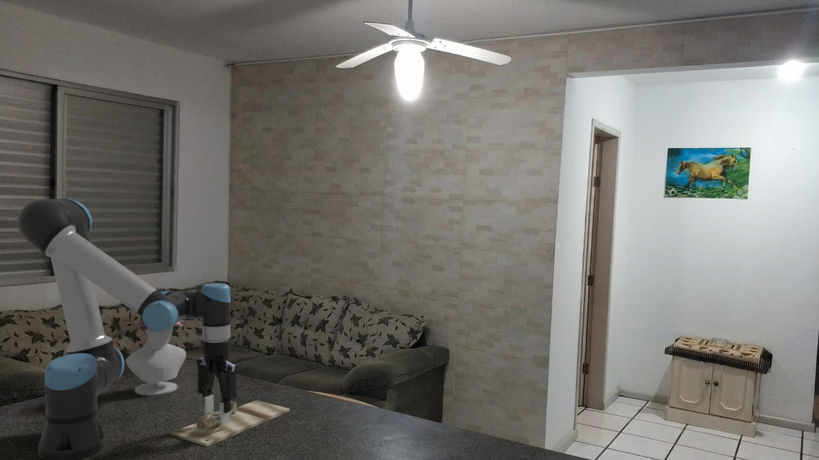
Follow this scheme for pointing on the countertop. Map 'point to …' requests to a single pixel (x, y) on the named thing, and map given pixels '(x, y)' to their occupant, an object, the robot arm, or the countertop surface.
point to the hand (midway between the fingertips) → (216, 421)
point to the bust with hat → (156, 361)
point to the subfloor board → (232, 423)
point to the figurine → (213, 418)
